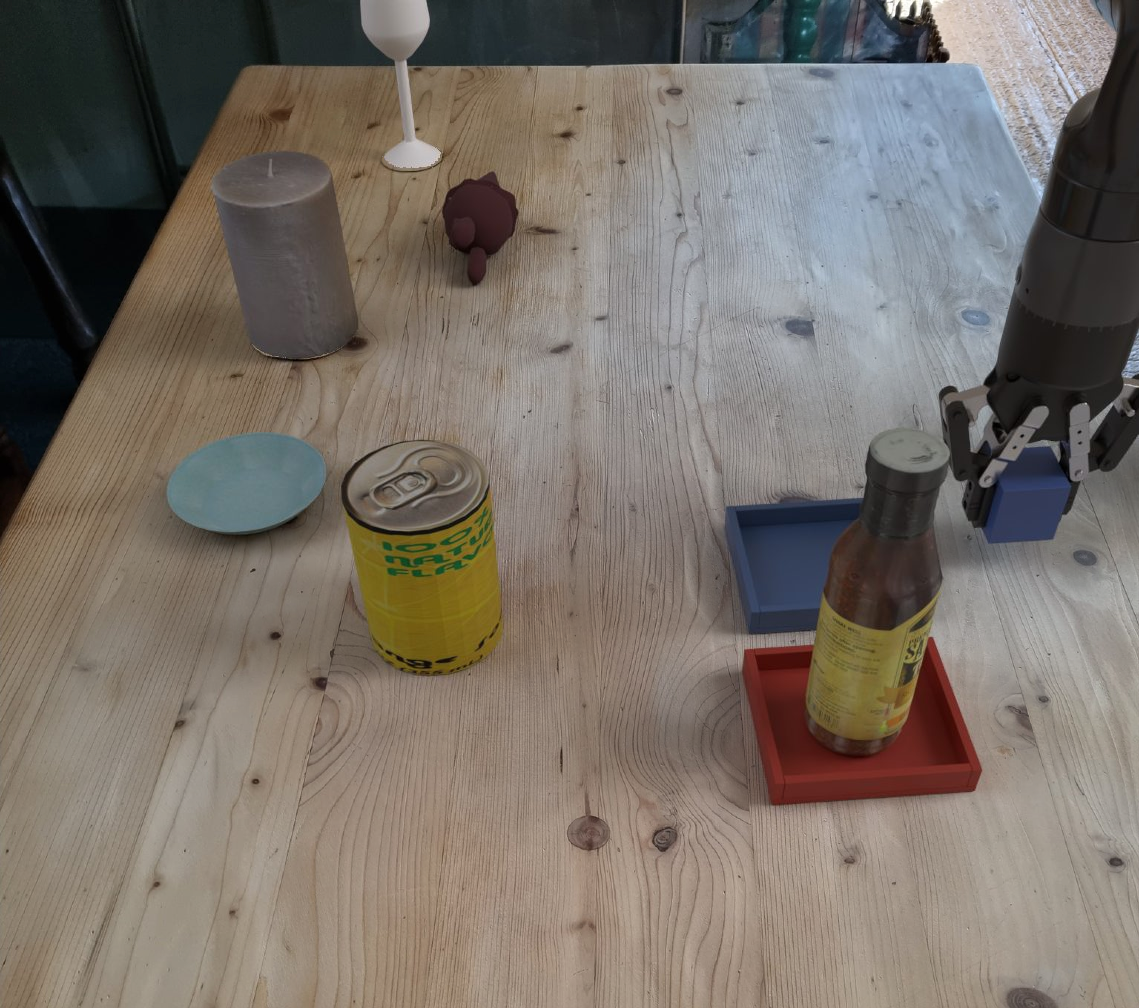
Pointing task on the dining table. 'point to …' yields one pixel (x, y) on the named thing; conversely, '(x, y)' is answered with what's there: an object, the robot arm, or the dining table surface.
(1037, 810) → the dining table surface
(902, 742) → the red tray
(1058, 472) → the blue block
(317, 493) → the saucer
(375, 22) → the champagne flute
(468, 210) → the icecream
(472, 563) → the beverage can
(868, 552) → the sauce bottle
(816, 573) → the blue tray
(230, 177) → the pillar candle
